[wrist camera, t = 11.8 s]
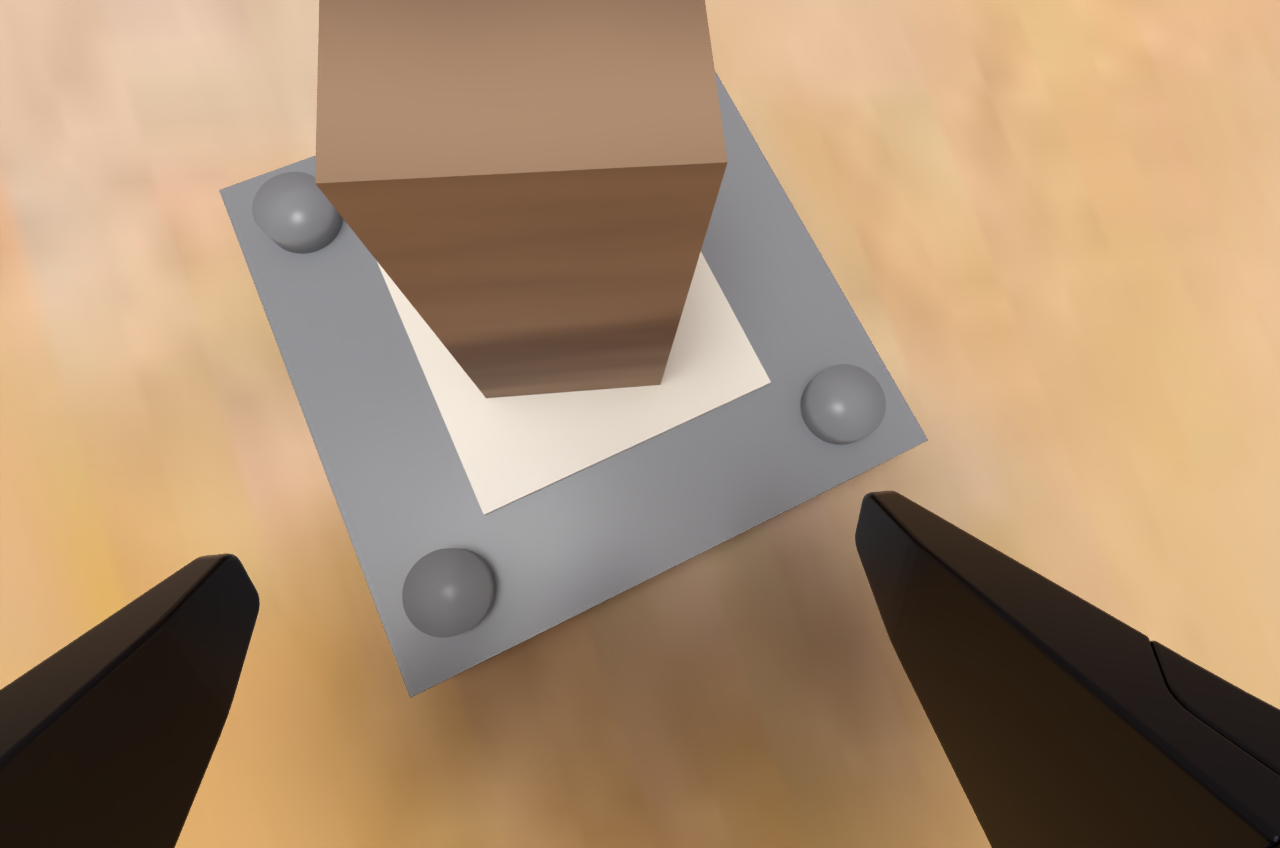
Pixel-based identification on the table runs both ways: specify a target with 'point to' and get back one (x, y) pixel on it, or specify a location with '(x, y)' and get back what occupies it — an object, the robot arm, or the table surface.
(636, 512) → the base brick
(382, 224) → the walnut brick
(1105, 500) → the table surface
